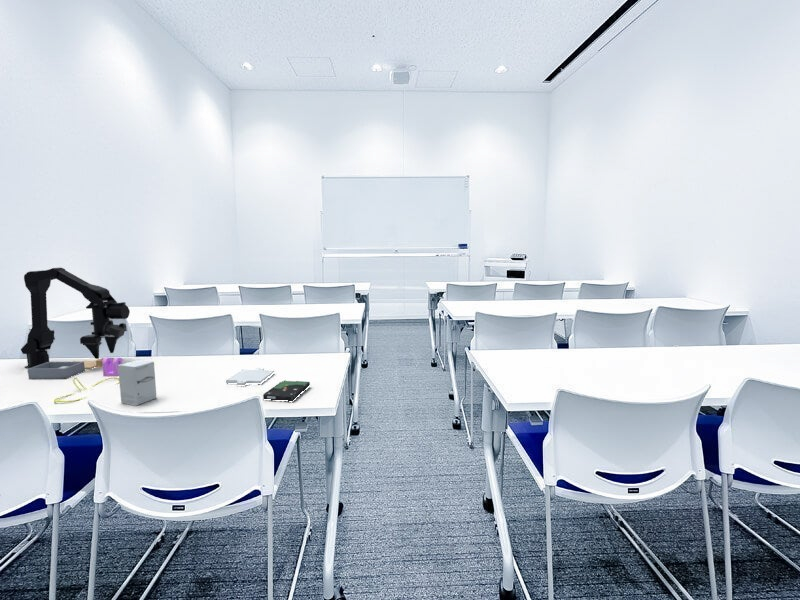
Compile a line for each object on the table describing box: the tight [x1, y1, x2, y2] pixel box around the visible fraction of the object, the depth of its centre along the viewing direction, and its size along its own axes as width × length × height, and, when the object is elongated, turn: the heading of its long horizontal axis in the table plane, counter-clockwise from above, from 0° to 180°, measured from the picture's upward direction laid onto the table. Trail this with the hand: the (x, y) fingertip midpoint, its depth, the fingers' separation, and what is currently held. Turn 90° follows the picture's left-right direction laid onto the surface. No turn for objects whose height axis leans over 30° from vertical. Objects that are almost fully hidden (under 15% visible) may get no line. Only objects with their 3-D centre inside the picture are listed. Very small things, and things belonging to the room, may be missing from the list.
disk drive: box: [262, 380, 311, 401], centre depth 147 cm, size 10×3×15 cm
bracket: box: [101, 357, 124, 377], centre depth 173 cm, size 13×6×7 cm, turn 176°
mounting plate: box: [225, 367, 275, 386], centre depth 163 cm, size 18×13×2 cm
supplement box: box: [118, 359, 157, 407], centre depth 140 cm, size 7×7×13 cm
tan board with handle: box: [72, 357, 115, 370], centre depth 181 cm, size 20×11×3 cm, turn 90°
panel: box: [27, 361, 86, 380], centre depth 168 cm, size 14×10×4 cm
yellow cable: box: [53, 377, 120, 403], centre depth 151 cm, size 25×10×5 cm, turn 173°
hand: (104, 355), depth 181 cm, fingers open, 9 cm apart
